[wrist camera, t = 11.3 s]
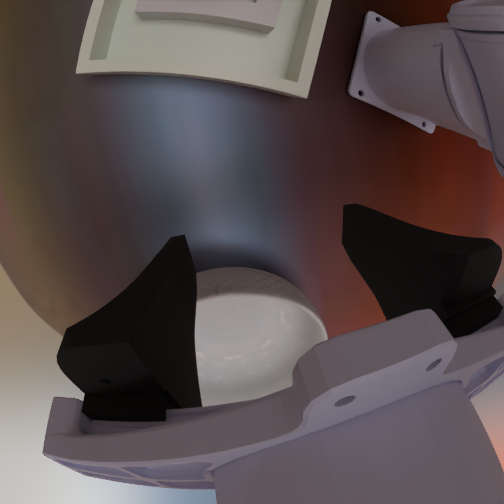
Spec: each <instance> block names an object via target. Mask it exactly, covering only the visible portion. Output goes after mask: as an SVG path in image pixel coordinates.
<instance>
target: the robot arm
mask: <svg viewBox="0 0 504 504" xmlns="http://www.w3.org/2000/svg"><path fill="white" fill-rule="evenodd" d="M376 18H377V19H378V20H379V22H377V21H376ZM447 19H448V20H449V22H446V23H433V24H423V25H415V26H407V27H399V26H398V25H396V24H394V23H393V22H391V21H389V20H387V19H386V18H384V17H382V16H380V15H378V14H376V13H375V12H372V11H370V12H367V13H366V15H365V19H364V24H363V28H362V33H361V37H360V42H359V46H358V50H357V54H356V58H355V62H354V67H353V71H352V74H351V78H350V82H349V86H348V93H349V95H350V96H352V97H354V98H357V99H359V100H362V101H364V102H366V103H369V104H371V105H373V106H376V107H378V108H380V109H382V110H385V111H387V112H389V113H391V114H393V115H395V116H397V117H399V118H401V119H403V120H405V121H407V122H409V123H411V124H413V125H415V126H417V127H418V128H420V129H422V130H424V131H426V132H427V133H433V132H434V129H435V126H436V125H438V126H441V127H444V128H447V129H450V130H452V131H455V132H458V133H461V134H463V135H466V136H468V137H471V138H473V139H476V140H477V142H478V145H479V146H480V147H483V148H485V149H487V150H489V151H491V152H493V158H494V163H495V165H496V167H497V169H498V171H499V172H500V174H501V175H502V176H503V177H504V0H464V1H460V2H457V3H454V4H452V6H451V8H450V12H449V13H448V14H447ZM359 90H360V91H361V92H362V94H361V96H359V94H358V92H359ZM422 123H423V126H422ZM342 244H343V246H344V248H345V250H346V252H347V254H348V256H349V258H350V260H351V261H352V263H353V264H354V266H355V267H356V269H357V270H358V272H359V273H360V274H361V276H362V277H363V279H364V280H365V282H366V283H367V285H368V286H369V288H370V289H371V290H372V292H373V294H374V295H375V297H376V299H377V301H378V303H379V305H380V307H381V309H382V311H383V313H384V315H385V317H386V320H387V321H384V322H381V323H378V324H375V325H372V326H369V327H366V328H363V329H359V330H356V331H353V332H349V333H346V334H342V335H339V336H335V337H333V338H330V339H328V340H326V341H323V342H321V343H319V344H316V345H314V346H313V347H312V348H311V349H309V350H308V351H307V352H306V353H304V354H303V355H302V356H301V357H300V358H299V359H298V360H297V362H296V365H295V367H294V369H293V372H292V382H293V384H292V386H290V387H288V388H285V389H283V390H280V391H277V392H275V393H272V394H269V395H266V396H264V397H261V398H258V399H253V400H248V401H241V402H235V403H228V404H221V405H213V406H205V407H203V406H202V401H201V394H200V387H199V380H198V371H197V362H196V350H195V319H196V303H197V278H196V270H195V267H194V264H193V261H192V257H191V254H190V251H189V248H188V244H187V241H186V238H185V235H180V236H175V237H171V238H170V239H169V240H168V242H167V243H166V244H165V245H164V247H163V248H162V249H161V250H160V252H159V253H158V254H157V255H156V257H155V258H154V259H153V260H152V262H151V263H150V264H149V265H148V266H147V267H146V268H145V270H144V271H143V272H142V273H141V274H140V275H139V276H138V277H137V278H136V279H135V280H134V281H133V282H132V283H131V284H130V285H129V286H128V287H127V288H126V289H125V290H124V291H123V292H121V293H120V294H119V295H118V296H116V297H115V298H114V299H113V300H112V301H110V302H109V303H108V304H106V305H105V306H104V307H102V308H101V309H99V310H98V311H96V312H95V313H93V314H92V315H90V316H88V317H87V318H85V319H83V320H81V321H80V322H78V323H76V324H74V325H72V326H71V327H69V328H67V329H66V332H65V334H64V337H63V340H62V342H61V346H60V348H59V351H58V354H57V363H58V365H59V367H60V369H61V370H62V371H63V373H64V374H65V375H66V376H67V377H68V378H69V379H70V380H71V381H72V382H73V383H74V384H75V385H76V386H77V387H78V388H79V389H80V390H81V391H82V392H84V393H85V396H84V401H81V400H79V399H75V398H65V397H54V398H53V402H52V406H51V411H50V415H49V420H48V425H47V430H46V435H45V441H44V448H43V454H44V456H46V457H48V458H50V459H52V460H54V461H56V462H58V463H60V464H62V465H64V466H66V467H68V468H70V469H72V470H74V471H77V472H79V473H81V474H83V475H86V476H90V477H95V478H101V479H106V480H112V481H117V482H123V483H129V484H136V485H144V486H153V487H163V488H178V489H215V491H216V499H217V504H504V472H503V469H502V467H501V464H500V461H499V459H498V457H497V454H496V452H495V450H494V447H493V445H492V443H491V441H490V438H489V436H488V434H487V432H486V430H485V428H484V426H483V424H482V422H481V420H480V418H479V416H478V414H477V412H476V410H475V408H474V406H473V405H472V403H471V401H470V400H471V399H472V398H474V397H475V396H476V395H478V394H479V393H480V392H482V391H483V390H484V389H485V388H486V387H488V386H489V385H490V384H491V383H493V382H494V381H495V380H496V379H497V378H498V377H499V376H501V375H502V374H503V373H504V294H503V295H502V296H501V297H500V298H499V299H498V300H497V299H496V298H495V297H494V296H493V295H495V293H496V291H495V289H494V288H493V287H492V284H493V282H494V279H495V277H496V275H497V272H498V270H499V267H500V264H501V260H502V250H501V248H500V246H499V245H497V244H496V243H495V242H494V241H493V240H491V239H488V238H472V237H463V236H456V235H450V234H445V233H441V232H436V231H432V230H428V229H425V228H422V227H418V226H415V225H412V224H409V223H406V222H404V221H401V220H398V219H396V218H393V217H391V216H388V215H386V214H383V213H381V212H378V211H376V210H373V209H371V208H368V207H365V206H363V205H359V204H349V205H343V234H342Z"/></svg>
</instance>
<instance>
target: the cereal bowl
mask: <svg viewBox="0 0 504 504" xmlns="http://www.w3.org/2000/svg"><path fill="white" fill-rule="evenodd" d="M196 278H197V303H196V319H195V350H196V362H197V371H198V380H199V387H200V394H201V401H202V406H203V407H205V406H213V405H221V404H228V403H235V402H241V401H248V400H253V399H258V398H261V397H264V396H266V395H269V394H272V393H275V392H277V391H280V390H283V389H285V388H288V387H290V386H292V384H293V382H292V372H293V369H294V367H295V365H296V362H297V360H298V359H299V358H300V357H301V356H302V355H303V354H304V353H306V352H307V351H308V350H309V349H311V348H312V347H313V346H314V345H316V344H319V343H321V342H323V341H326V340H328V338H327V332H326V328H325V325H324V324H323V321H322V319H321V318H320V316H319V314H318V312H317V310H316V309H315V307H314V305H313V304H312V303H311V302H310V300H309V299H308V297H306V296H305V295H304V293H303V292H302V291H300V290H299V289H298V288H297V287H296V286H295V285H293V284H291V283H290V282H289V281H287V280H285V279H283V278H282V277H279V276H277V275H275V274H273V273H269V272H266V271H263V270H258V269H252V268H245V267H222V268H215V269H209V270H204V271H201V272H197V273H196Z"/></svg>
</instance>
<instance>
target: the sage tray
mask: <svg viewBox="0 0 504 504" xmlns="http://www.w3.org/2000/svg"><path fill="white" fill-rule="evenodd" d="M331 1H332V0H94V1H93V4H92V7H91V10H90V13H89V17H88V20H87V24H86V28H85V31H84V35H83V40H82V44H81V49H80V53H79V58H78V64H77V69H76V74H92V75H105V74H143V75H163V76H176V77H187V78H196V79H204V80H211V81H218V82H224V83H230V84H236V85H242V86H247V87H252V88H257V89H261V90H266V91H270V92H274V93H278V94H282V95H286V96H290V97H299V98H307V96H308V92H309V88H310V85H311V81H312V77H313V73H314V69H315V65H316V61H317V57H318V53H319V49H320V45H321V41H322V37H323V33H324V29H325V25H326V21H327V17H328V13H329V9H330V5H331Z"/></svg>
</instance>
